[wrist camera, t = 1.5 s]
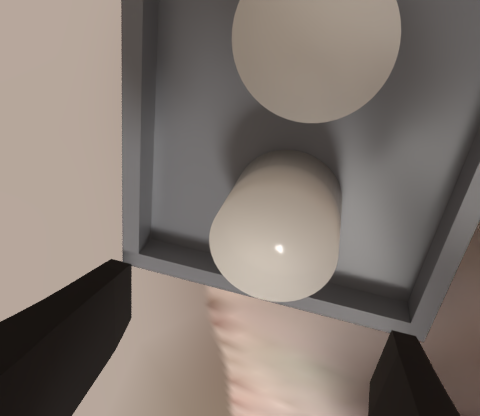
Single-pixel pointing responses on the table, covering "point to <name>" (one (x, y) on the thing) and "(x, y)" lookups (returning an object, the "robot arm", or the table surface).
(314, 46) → the white rounded piece
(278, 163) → the white rounded piece
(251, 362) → the table surface
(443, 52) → the parts tray
